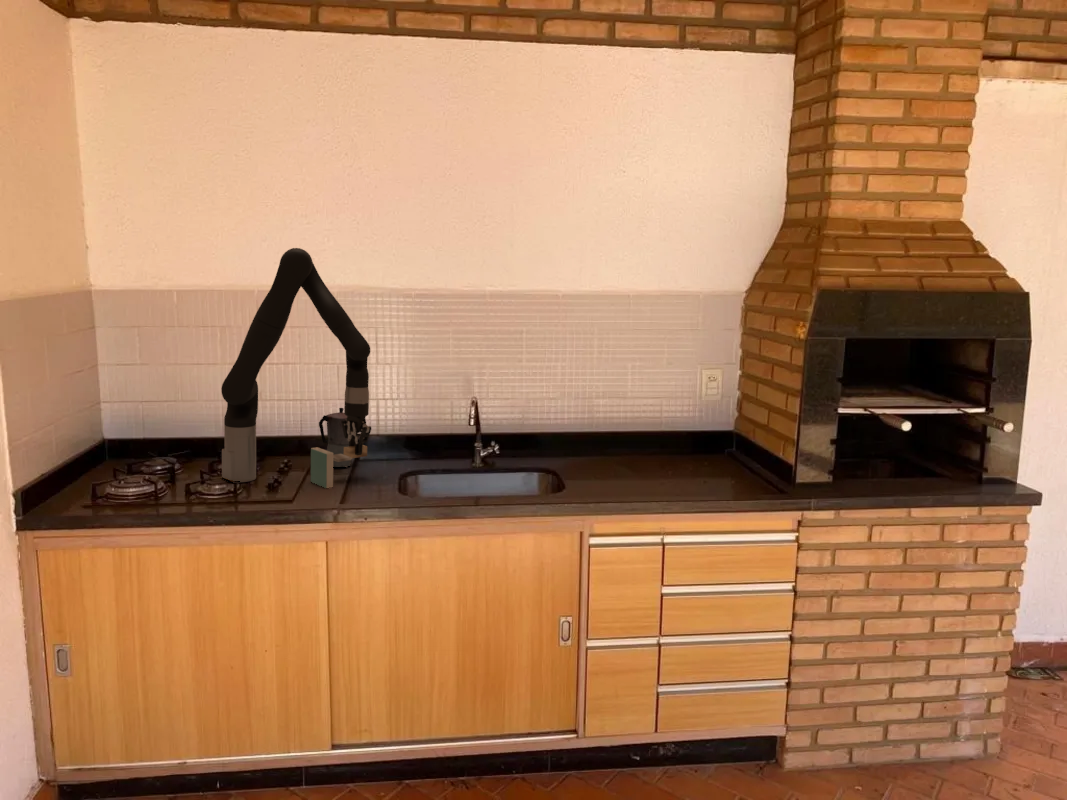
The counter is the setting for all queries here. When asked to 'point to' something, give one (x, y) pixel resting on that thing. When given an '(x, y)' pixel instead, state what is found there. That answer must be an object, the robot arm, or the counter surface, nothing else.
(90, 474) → the counter surface
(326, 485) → the tile
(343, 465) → the moka pot
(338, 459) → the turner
